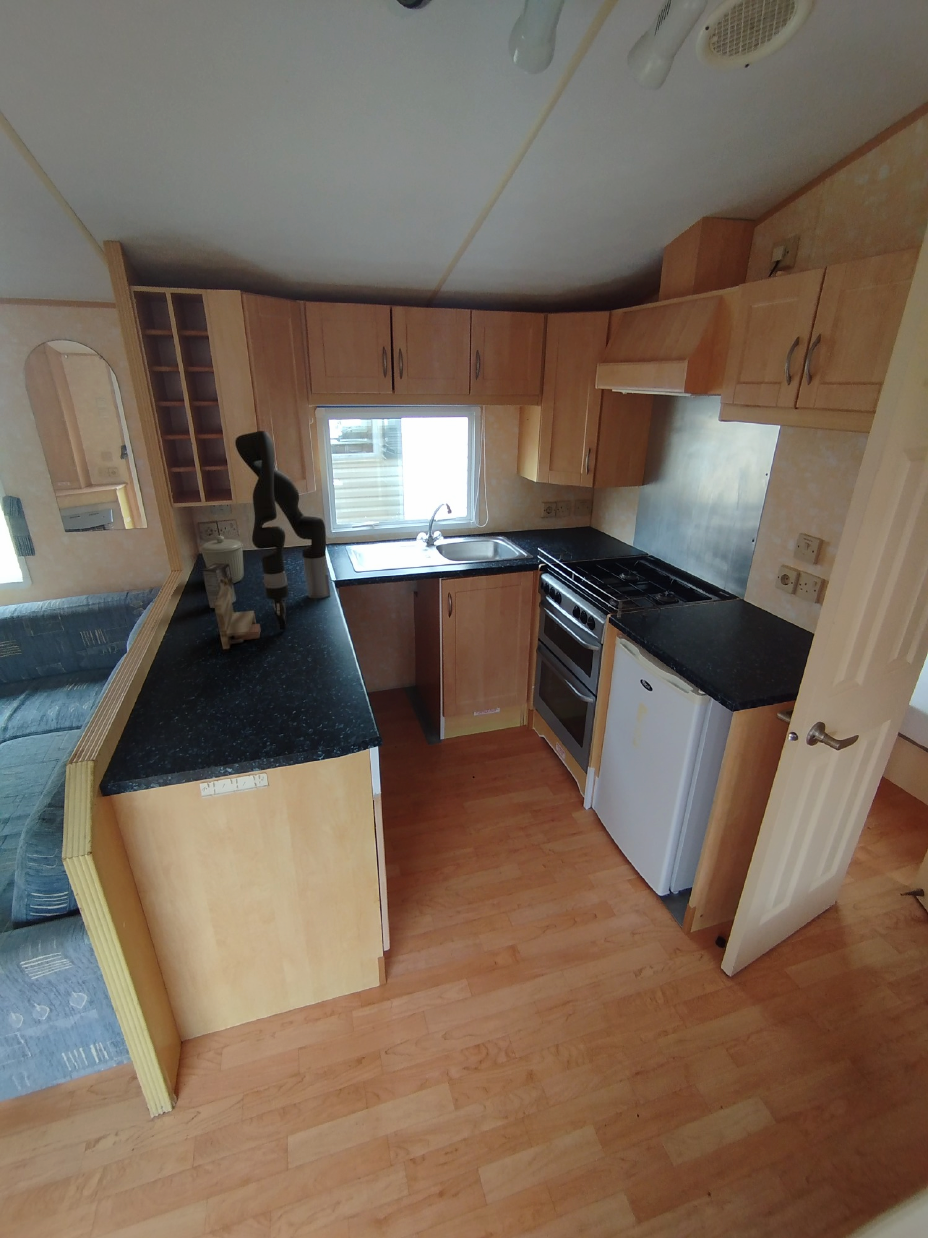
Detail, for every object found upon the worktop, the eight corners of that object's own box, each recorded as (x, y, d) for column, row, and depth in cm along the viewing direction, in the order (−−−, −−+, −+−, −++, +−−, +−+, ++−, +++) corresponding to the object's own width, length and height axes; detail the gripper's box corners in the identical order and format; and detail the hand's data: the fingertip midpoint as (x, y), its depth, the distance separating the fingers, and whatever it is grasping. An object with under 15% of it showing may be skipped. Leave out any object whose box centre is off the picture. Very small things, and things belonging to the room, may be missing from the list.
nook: (256, 624, 207) (249, 583, 200) (251, 645, 190) (243, 602, 183) (230, 627, 205) (222, 586, 199) (223, 649, 188) (214, 605, 182)
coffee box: (222, 599, 231) (215, 562, 225) (236, 600, 230) (229, 563, 224) (209, 607, 223) (201, 569, 216) (223, 608, 222) (216, 570, 215)
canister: (256, 580, 253) (248, 535, 245) (217, 590, 241) (208, 543, 233) (237, 572, 264) (229, 528, 256) (199, 581, 252) (190, 536, 244)
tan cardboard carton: (260, 630, 202) (259, 623, 201) (259, 638, 196) (257, 631, 195) (237, 632, 200) (236, 626, 199) (235, 640, 194) (233, 634, 193)
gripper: (286, 589, 188) (293, 635, 195) (288, 576, 200) (294, 620, 207) (262, 591, 187) (270, 637, 194) (266, 578, 199) (273, 622, 206)
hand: (283, 628), depth 200 cm, fingers closed
